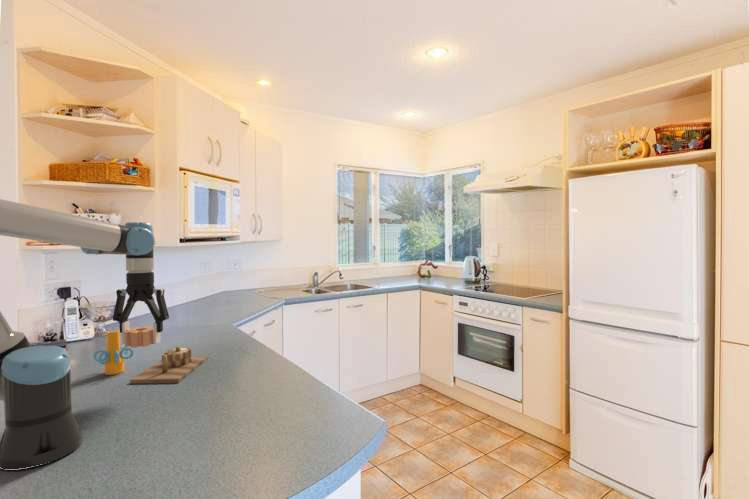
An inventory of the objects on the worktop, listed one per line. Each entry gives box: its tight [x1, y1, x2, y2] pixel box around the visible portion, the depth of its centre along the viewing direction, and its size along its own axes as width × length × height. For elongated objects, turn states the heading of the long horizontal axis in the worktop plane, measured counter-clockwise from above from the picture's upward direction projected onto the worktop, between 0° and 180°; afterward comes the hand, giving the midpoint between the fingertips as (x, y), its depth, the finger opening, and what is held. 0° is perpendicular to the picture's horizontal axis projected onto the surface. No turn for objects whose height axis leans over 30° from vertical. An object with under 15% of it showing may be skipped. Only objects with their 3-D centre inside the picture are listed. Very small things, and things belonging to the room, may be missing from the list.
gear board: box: [129, 345, 208, 384], centre depth 144 cm, size 24×16×7 cm, turn 1°
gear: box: [124, 325, 155, 349], centre depth 125 cm, size 9×9×4 cm
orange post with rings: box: [93, 329, 134, 376], centre depth 142 cm, size 12×10×15 cm
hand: (141, 342), depth 125 cm, fingers closed on gear, 9 cm apart
